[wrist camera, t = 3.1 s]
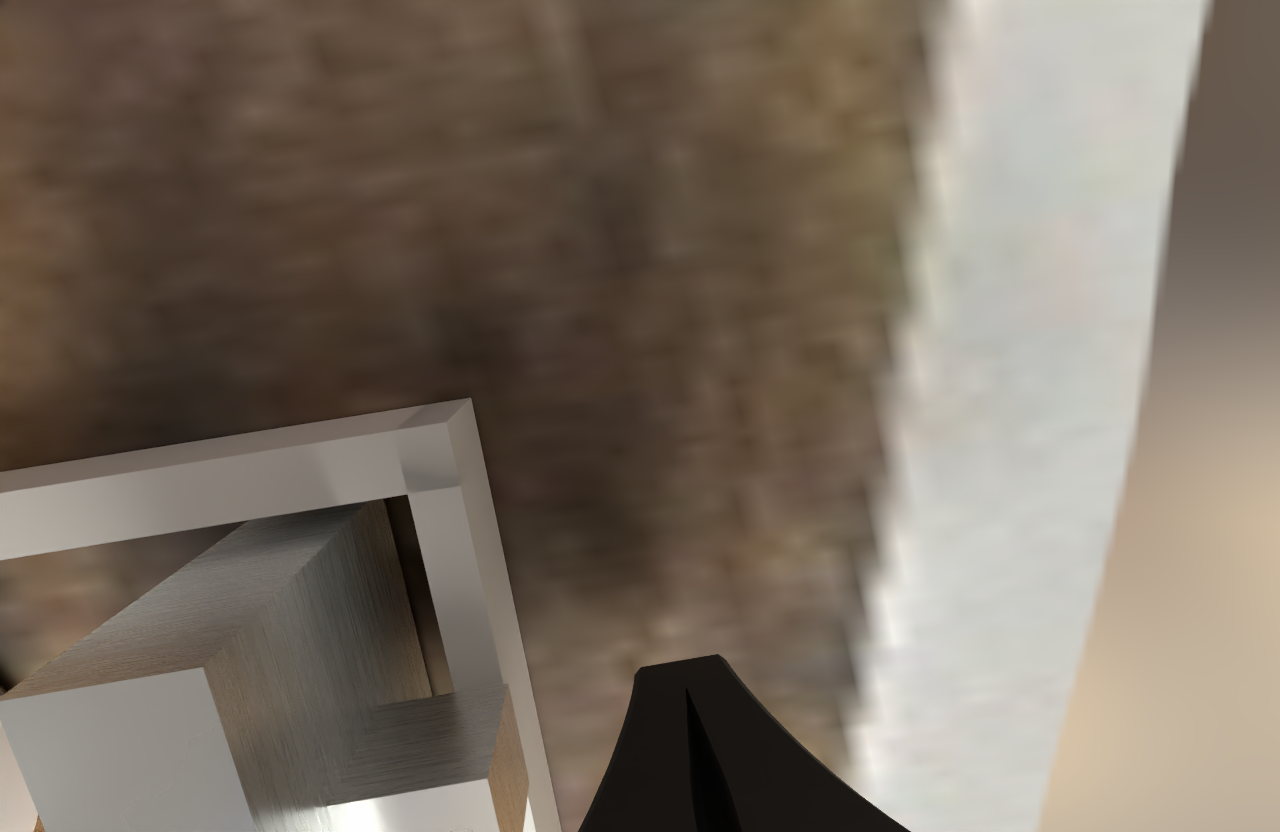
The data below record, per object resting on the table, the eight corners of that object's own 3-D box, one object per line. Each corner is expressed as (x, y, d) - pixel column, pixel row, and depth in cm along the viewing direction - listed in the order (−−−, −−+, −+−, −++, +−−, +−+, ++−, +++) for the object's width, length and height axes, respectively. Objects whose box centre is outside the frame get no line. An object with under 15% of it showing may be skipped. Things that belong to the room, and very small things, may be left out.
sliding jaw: (494, 470, 12) (408, 631, 7) (566, 819, 14) (545, 1179, 8) (238, 511, 12) (-61, 712, 6) (341, 858, 13) (171, 1251, 8)
